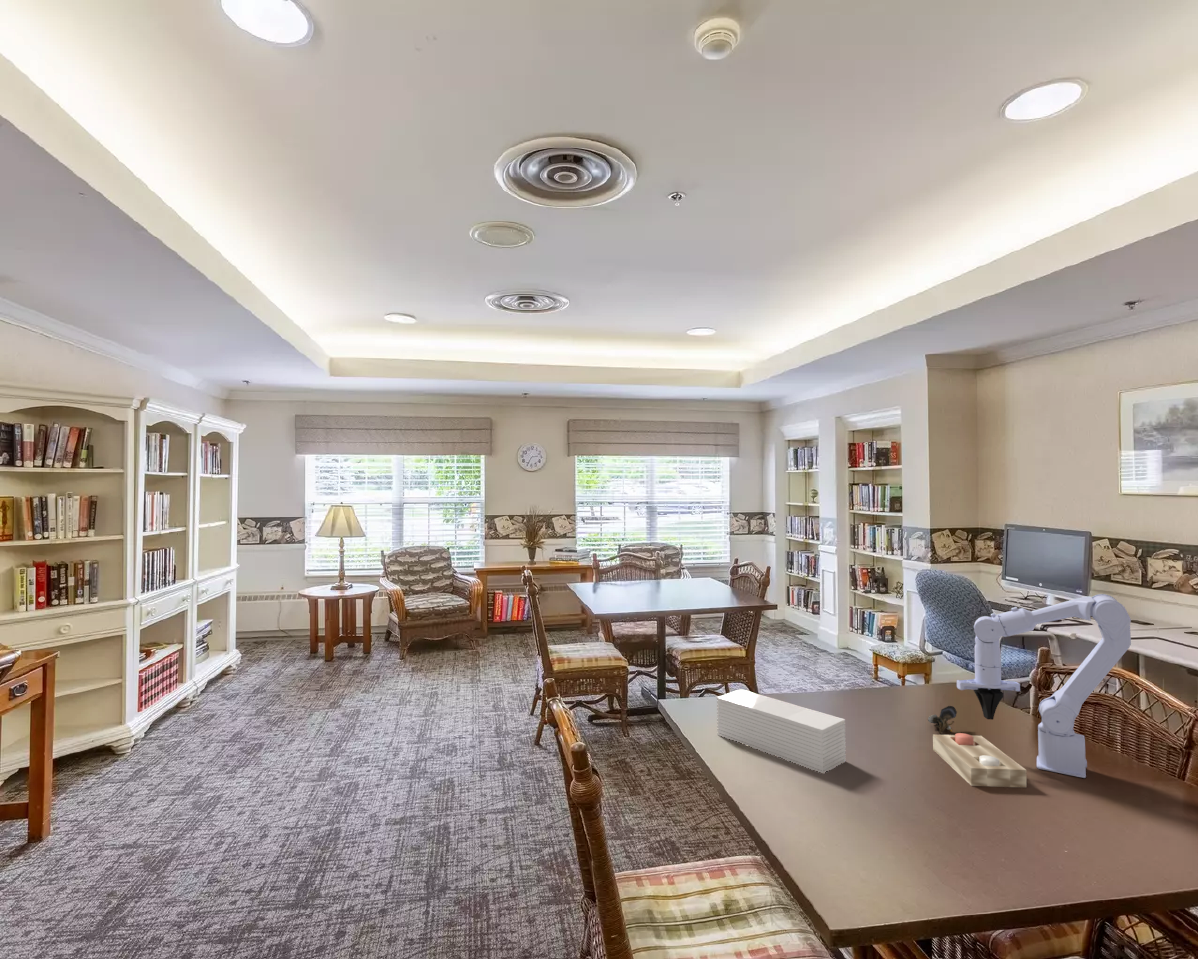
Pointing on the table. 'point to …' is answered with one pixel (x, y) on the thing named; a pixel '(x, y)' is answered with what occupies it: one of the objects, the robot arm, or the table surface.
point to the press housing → (971, 769)
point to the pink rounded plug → (964, 739)
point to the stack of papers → (782, 729)
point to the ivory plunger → (988, 760)
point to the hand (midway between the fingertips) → (988, 718)
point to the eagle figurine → (944, 718)
